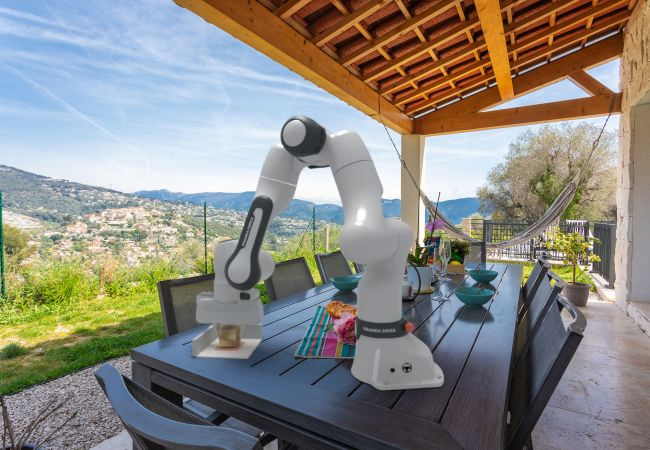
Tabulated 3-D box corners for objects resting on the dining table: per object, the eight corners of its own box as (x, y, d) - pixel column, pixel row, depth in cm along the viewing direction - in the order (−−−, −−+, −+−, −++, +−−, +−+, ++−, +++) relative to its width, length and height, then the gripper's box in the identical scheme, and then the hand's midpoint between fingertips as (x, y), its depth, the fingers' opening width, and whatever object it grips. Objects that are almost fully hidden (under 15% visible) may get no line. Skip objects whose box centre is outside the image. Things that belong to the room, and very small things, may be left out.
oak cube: (240, 341, 109) (240, 325, 109) (235, 347, 104) (235, 330, 104) (225, 340, 109) (225, 324, 109) (219, 346, 104) (218, 329, 104)
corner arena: (262, 338, 114) (262, 323, 114) (247, 358, 98) (247, 341, 98) (215, 337, 115) (214, 322, 115) (192, 357, 99) (192, 339, 99)
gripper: (191, 294, 104) (192, 340, 104) (259, 294, 102) (259, 342, 103) (200, 289, 110) (201, 333, 111) (264, 290, 109) (265, 334, 109)
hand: (230, 337), depth 107 cm, fingers closed on oak cube, 5 cm apart
